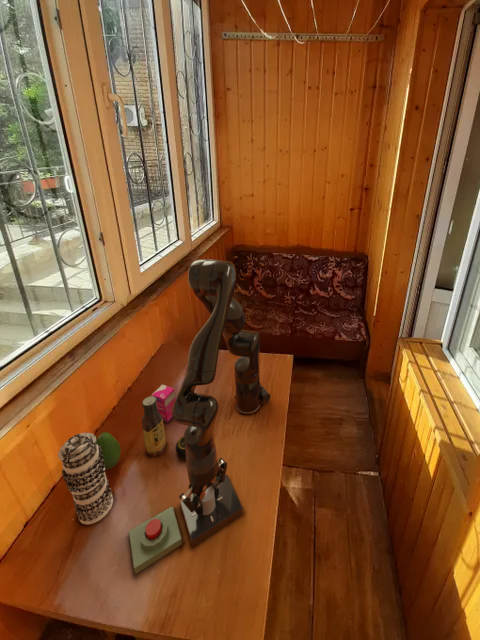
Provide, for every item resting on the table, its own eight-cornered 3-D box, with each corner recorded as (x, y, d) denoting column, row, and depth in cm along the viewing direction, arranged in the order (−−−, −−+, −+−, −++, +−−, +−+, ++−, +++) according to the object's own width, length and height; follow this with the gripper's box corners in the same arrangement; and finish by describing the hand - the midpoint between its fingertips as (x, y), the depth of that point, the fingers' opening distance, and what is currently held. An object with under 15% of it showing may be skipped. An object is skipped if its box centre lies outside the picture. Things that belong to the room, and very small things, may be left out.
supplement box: (155, 418, 115) (150, 394, 111) (166, 406, 120) (162, 383, 116) (167, 423, 113) (163, 399, 109) (178, 411, 118) (175, 387, 114)
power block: (173, 511, 86) (171, 501, 85) (182, 544, 79) (180, 534, 78) (130, 536, 81) (127, 526, 79) (135, 574, 74) (132, 564, 72)
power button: (160, 520, 81) (159, 515, 80) (163, 533, 78) (162, 529, 78) (145, 528, 79) (144, 524, 79) (147, 543, 76) (146, 538, 76)
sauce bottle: (159, 458, 100) (151, 411, 94) (142, 455, 102) (132, 408, 95) (170, 441, 106) (163, 395, 100) (154, 437, 108) (146, 392, 101)
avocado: (119, 448, 104) (113, 421, 100) (125, 466, 98) (119, 438, 94) (92, 463, 99) (84, 435, 95) (96, 482, 93) (88, 454, 89)
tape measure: (186, 464, 99) (185, 456, 97) (172, 453, 102) (171, 445, 101) (202, 448, 104) (201, 439, 103) (188, 437, 108) (187, 429, 106)
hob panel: (227, 479, 94) (227, 473, 94) (242, 513, 86) (242, 507, 85) (180, 506, 87) (179, 500, 86) (192, 547, 79) (191, 540, 78)
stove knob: (209, 494, 88) (207, 480, 86) (218, 505, 85) (217, 491, 83) (195, 507, 85) (194, 492, 83) (205, 519, 82) (203, 504, 80)
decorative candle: (119, 507, 87) (102, 441, 78) (81, 534, 81) (59, 467, 72) (108, 483, 93) (92, 420, 84) (72, 507, 87) (50, 442, 78)
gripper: (185, 492, 72) (193, 538, 77) (233, 448, 82) (236, 492, 88) (168, 471, 76) (176, 516, 82) (215, 432, 86) (219, 475, 92)
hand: (207, 503), depth 85 cm, fingers closed on stove knob, 4 cm apart
